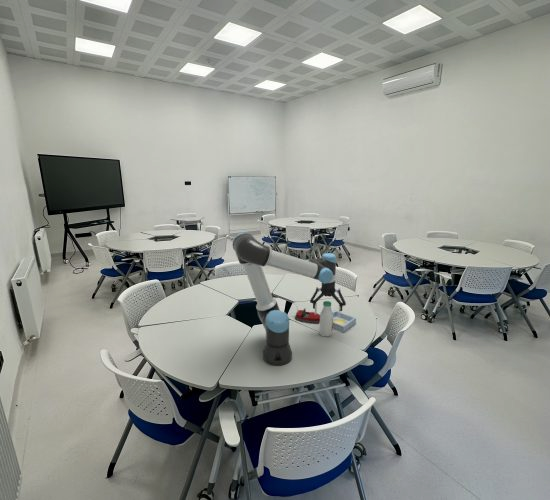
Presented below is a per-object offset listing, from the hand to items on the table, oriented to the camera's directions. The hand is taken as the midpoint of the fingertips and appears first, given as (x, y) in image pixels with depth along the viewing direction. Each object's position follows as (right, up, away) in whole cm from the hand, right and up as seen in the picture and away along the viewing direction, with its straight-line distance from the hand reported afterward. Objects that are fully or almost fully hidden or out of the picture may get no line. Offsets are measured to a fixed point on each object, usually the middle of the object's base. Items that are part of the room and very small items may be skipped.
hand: (327, 314), depth 165 cm
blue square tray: (+10, -9, +14) cm, 19 cm away
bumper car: (-10, -8, +20) cm, 24 cm away
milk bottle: (0, -12, +3) cm, 12 cm away
